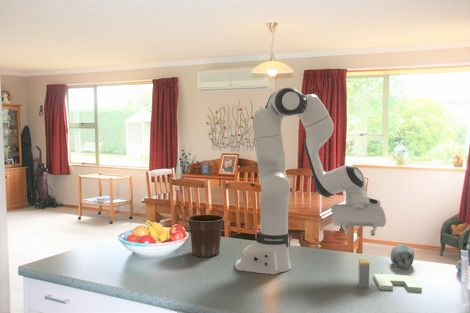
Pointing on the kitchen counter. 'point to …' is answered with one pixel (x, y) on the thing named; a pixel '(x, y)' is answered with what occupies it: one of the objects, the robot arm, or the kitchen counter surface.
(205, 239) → the plant pot
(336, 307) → the kitchen counter surface
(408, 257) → the grey oval lump
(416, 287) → the notched board
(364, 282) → the grey and yellow block
